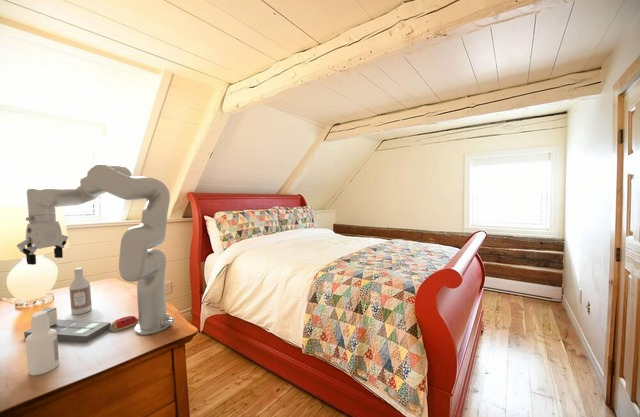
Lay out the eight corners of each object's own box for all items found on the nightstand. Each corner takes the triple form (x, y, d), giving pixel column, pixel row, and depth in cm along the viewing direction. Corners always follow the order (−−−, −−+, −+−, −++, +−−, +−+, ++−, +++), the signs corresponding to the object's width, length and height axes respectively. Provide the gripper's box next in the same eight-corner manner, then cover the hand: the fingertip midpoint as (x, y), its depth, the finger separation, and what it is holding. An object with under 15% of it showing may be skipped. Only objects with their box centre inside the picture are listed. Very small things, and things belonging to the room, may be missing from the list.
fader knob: (57, 322, 108) (56, 307, 108) (47, 327, 105) (46, 312, 104) (48, 322, 109) (47, 307, 108) (38, 326, 105) (36, 311, 105)
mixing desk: (111, 328, 109) (110, 322, 109) (87, 342, 99) (86, 335, 99) (53, 324, 112) (52, 318, 112) (24, 338, 102) (24, 331, 102)
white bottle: (65, 361, 89) (60, 307, 88) (45, 375, 82) (39, 318, 81) (43, 361, 89) (38, 308, 87) (21, 376, 82) (15, 318, 81)
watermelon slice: (107, 329, 109) (106, 320, 109) (136, 319, 117) (135, 311, 117) (111, 335, 105) (111, 326, 105) (141, 325, 113) (140, 316, 112)
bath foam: (70, 316, 119) (66, 271, 118) (73, 310, 125) (69, 267, 123) (90, 312, 123) (87, 269, 121) (92, 306, 129) (89, 265, 127)
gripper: (24, 221, 100) (28, 267, 101) (73, 216, 117) (75, 255, 118) (7, 221, 101) (11, 266, 102) (57, 216, 118) (60, 254, 119)
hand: (45, 260), depth 110 cm, fingers open, 9 cm apart
